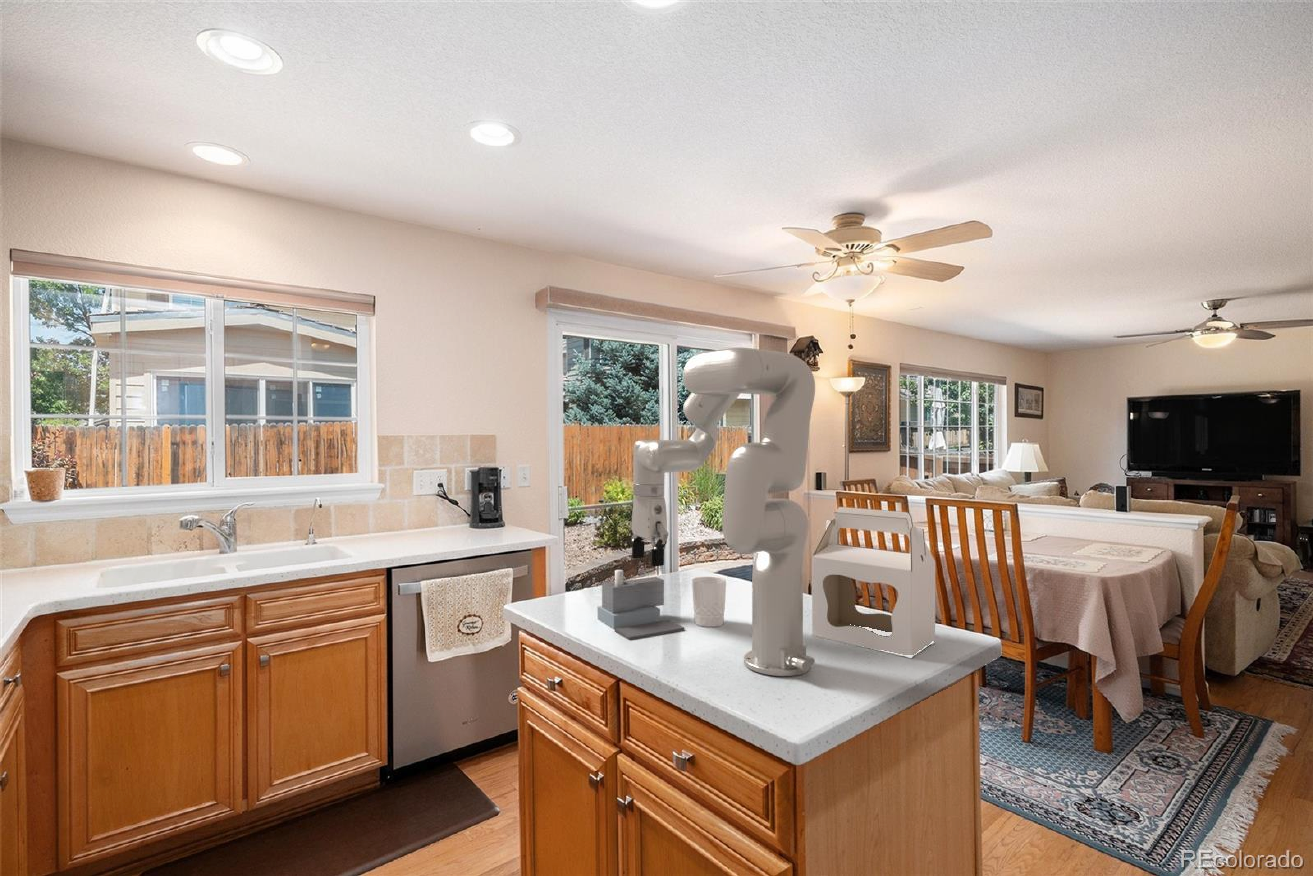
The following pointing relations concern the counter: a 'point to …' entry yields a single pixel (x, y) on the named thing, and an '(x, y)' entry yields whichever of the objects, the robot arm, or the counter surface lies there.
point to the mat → (649, 629)
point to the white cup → (709, 601)
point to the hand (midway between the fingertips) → (647, 561)
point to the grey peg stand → (628, 617)
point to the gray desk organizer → (632, 594)
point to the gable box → (874, 566)
